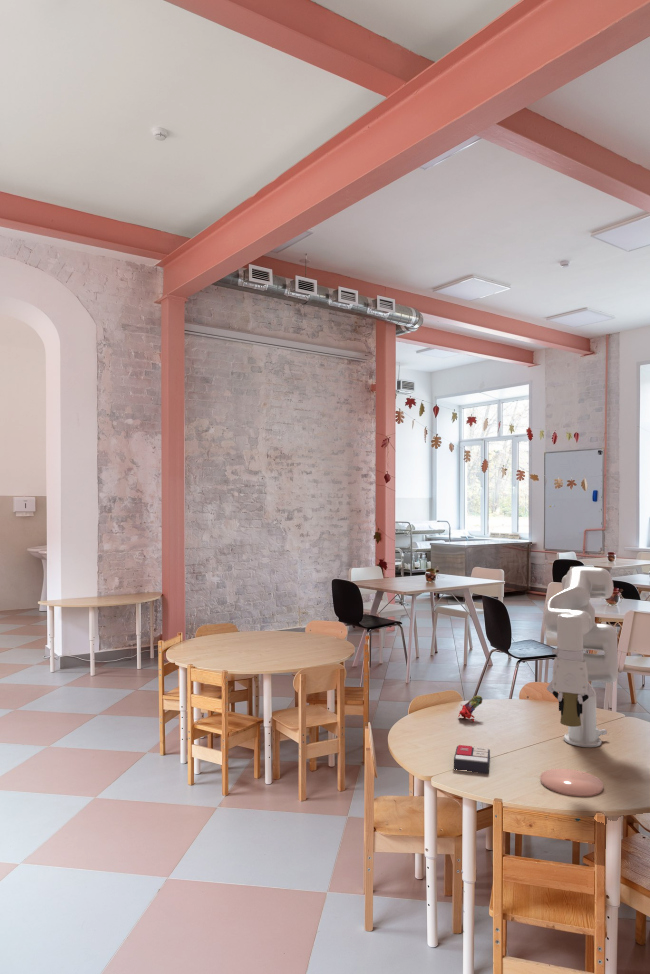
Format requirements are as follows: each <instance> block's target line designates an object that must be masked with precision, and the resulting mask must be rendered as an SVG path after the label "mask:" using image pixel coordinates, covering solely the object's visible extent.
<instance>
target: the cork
mask: <svg viewBox="0 0 650 974" xmlns="http://www.w3.org/2000/svg"><path fill="white" fill-rule="evenodd" d="M562 695H563V715H561V714H560V722H559V723H560V724H561V725H564V726H567V727H568V726H571V727H577V726H580V725H581V719H580V717H578V713H577V703H578V694H572V693H562Z"/></svg>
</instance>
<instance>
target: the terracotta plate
mask: <svg viewBox="0 0 650 974" xmlns="http://www.w3.org/2000/svg"><path fill="white" fill-rule="evenodd" d="M539 782H540V783H541V784H542V785H543V787H545V788H546V789H548V790H550V791H552V792H555V793H559V794H562V795H566V796H571V797H591V796H597V795H599V794H601V793H602V792H603V790H604V784H603V781H602V780H601V779H600V778H598V777H597V776H595V775H593V774H590V773H588V772H585V771H583V770H578V769H577V770H576V769H569V768H551V769H548V770H545V771H543V772H541V774H540V776H539Z"/></svg>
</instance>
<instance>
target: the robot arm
mask: <svg viewBox="0 0 650 974" xmlns="http://www.w3.org/2000/svg"><path fill="white" fill-rule="evenodd" d="M561 587H562V591H560V592H558V593H556V594H555V595H553V596H552V597H551V598H549V599H548V600H547V604H546V607H545V611H544V614H543V615H544V616H543V624H544V627H545V630H547V631H548V632H550V633H556V648H554V649H553V648H552V650H551V651H552V652H551V653H552V654H553V655H555V657H554V660H553V664H552V665H553V666H552V667H553V668H552V680H551V681H550V682H549V684H548V685H547V686H546V690H547V692H549V693H550V694H552V695H553V696H554V697H555V699H556V700H557V701H558V712H560V716H561V715H563V695H562V693H572V694H578V703H577V713H578V717H580V719H581V725H580V726H577V727H571V726H567V730H568V731H567V732H568V733H565V734H564V735H563V740H564V741H565V742H566V743H568V744H570V745H572V746H576V747H580V748H581V747H582V748H595V747H599V746H601V745H602V739H601V738H600V737H601V736H603V735H604V736H605V735H607V734H608V730H607V729H606V728H602V729H599V728H598V727H597V693H596V690H595V688H594V686H592V684H591V683H590V682H597V683H605V684H606V683H607V684H608V683H609V684H612V683H615V682H616V681H617V679H618V673H619V672H618V671H619V669H618V668H619V667H618V666H619V663H618V662H619V661H618V660H619V659H618V655H619V653H618V634H617V630H616V629H615V627H614V626H613V625H611V624H607V623H596V621H595V619H596V617H595V616H596V610H595V608H594V606H593V604H592V603H591V602H590V599H605V600H606V599H610V598H611V597H612V595H613V593H614V581H613V578H612V575H611V573H610V572H609V570H607V568H606V569H605V568H602V567H588V566H586V567H585V566H584V567H583V566H576V567H572V568H570V569H569V570H568V571H567V573H566V574H565V575H564V576H563V577H562V579H561ZM584 650H590V651H600V652H603V654H598V653H597V654H595V653H589V652H588V653H587V652H584Z"/></svg>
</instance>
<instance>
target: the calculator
mask: <svg viewBox="0 0 650 974" xmlns="http://www.w3.org/2000/svg"><path fill="white" fill-rule="evenodd" d="M490 759H491V749H489V747H483V746H474V747H473V746H472V745H464V744H463V745H462V744H458V745H457V746H456V749H455V754H454V756H453V770H454V769H455V770H456V769H457V770H467V771H472V772H471V773H474V772H478V773H477V774H484V775H489V774H490V762H491V761H490ZM455 770H454V771H455Z"/></svg>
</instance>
